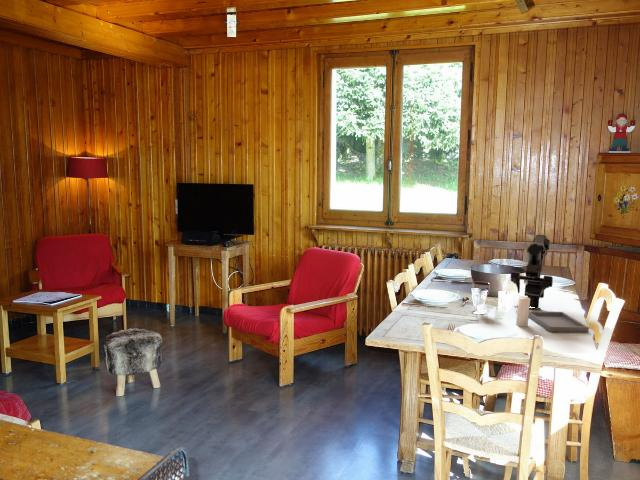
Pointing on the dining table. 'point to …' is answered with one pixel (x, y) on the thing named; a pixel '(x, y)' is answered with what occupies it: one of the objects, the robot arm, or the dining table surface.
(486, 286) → the wine glass
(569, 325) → the tray
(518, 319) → the canister
